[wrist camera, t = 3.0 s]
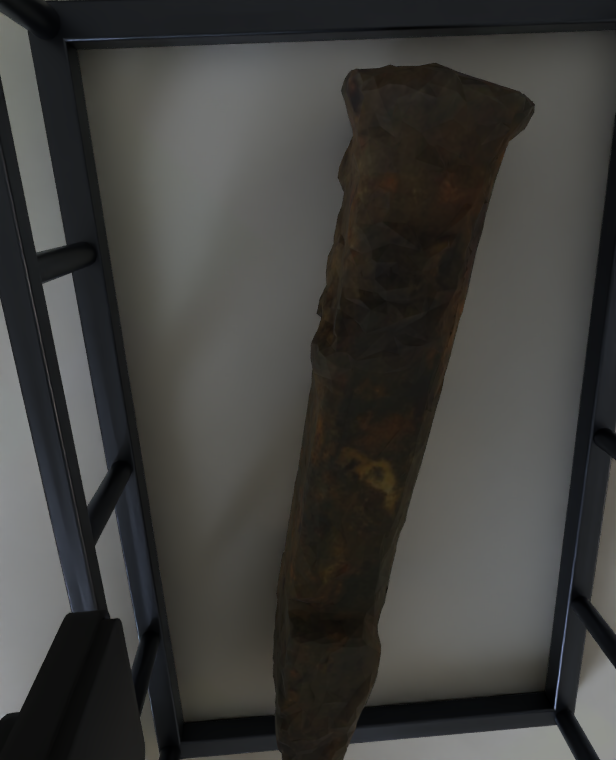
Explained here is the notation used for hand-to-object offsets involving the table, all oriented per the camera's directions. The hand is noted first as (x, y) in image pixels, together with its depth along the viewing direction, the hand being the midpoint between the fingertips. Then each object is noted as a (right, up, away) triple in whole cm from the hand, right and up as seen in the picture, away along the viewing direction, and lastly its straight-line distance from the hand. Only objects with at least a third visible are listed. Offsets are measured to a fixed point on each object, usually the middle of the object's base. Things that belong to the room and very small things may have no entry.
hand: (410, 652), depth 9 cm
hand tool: (0, +3, +8) cm, 8 cm away
